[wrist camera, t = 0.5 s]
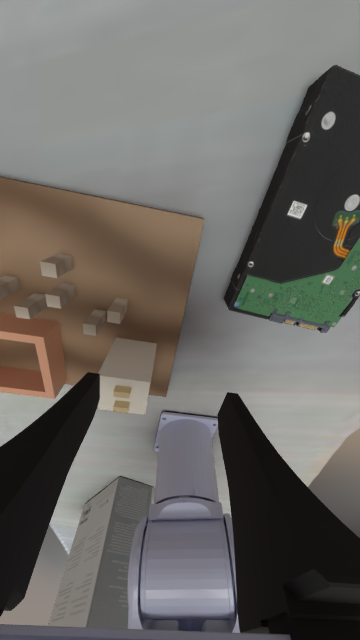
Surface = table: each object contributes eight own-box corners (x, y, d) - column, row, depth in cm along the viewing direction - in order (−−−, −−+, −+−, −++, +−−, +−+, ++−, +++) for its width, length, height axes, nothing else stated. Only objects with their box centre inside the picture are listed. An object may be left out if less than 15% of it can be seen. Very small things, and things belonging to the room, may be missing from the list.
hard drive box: (117, 511, 45) (77, 703, 28) (84, 503, 43) (19, 706, 26) (155, 486, 39) (134, 714, 22) (119, 474, 37) (64, 718, 19)
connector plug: (152, 372, 22) (144, 421, 17) (115, 367, 22) (95, 415, 17) (156, 343, 20) (149, 388, 15) (115, 337, 20) (94, 381, 15)
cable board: (166, 386, 25) (164, 416, 22) (-5, 364, 24) (-37, 392, 20) (202, 218, 16) (208, 222, 12) (-78, 160, 14) (-162, 147, 11)
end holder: (67, 379, 23) (54, 398, 20) (-6, 370, 22) (-26, 388, 20) (59, 321, 19) (43, 337, 17) (-29, 308, 18) (-57, 322, 16)
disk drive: (301, 88, 13) (221, 299, 20) (329, 59, 10) (227, 312, 17) (437, 139, 14) (316, 322, 21) (492, 125, 11) (334, 337, 19)
